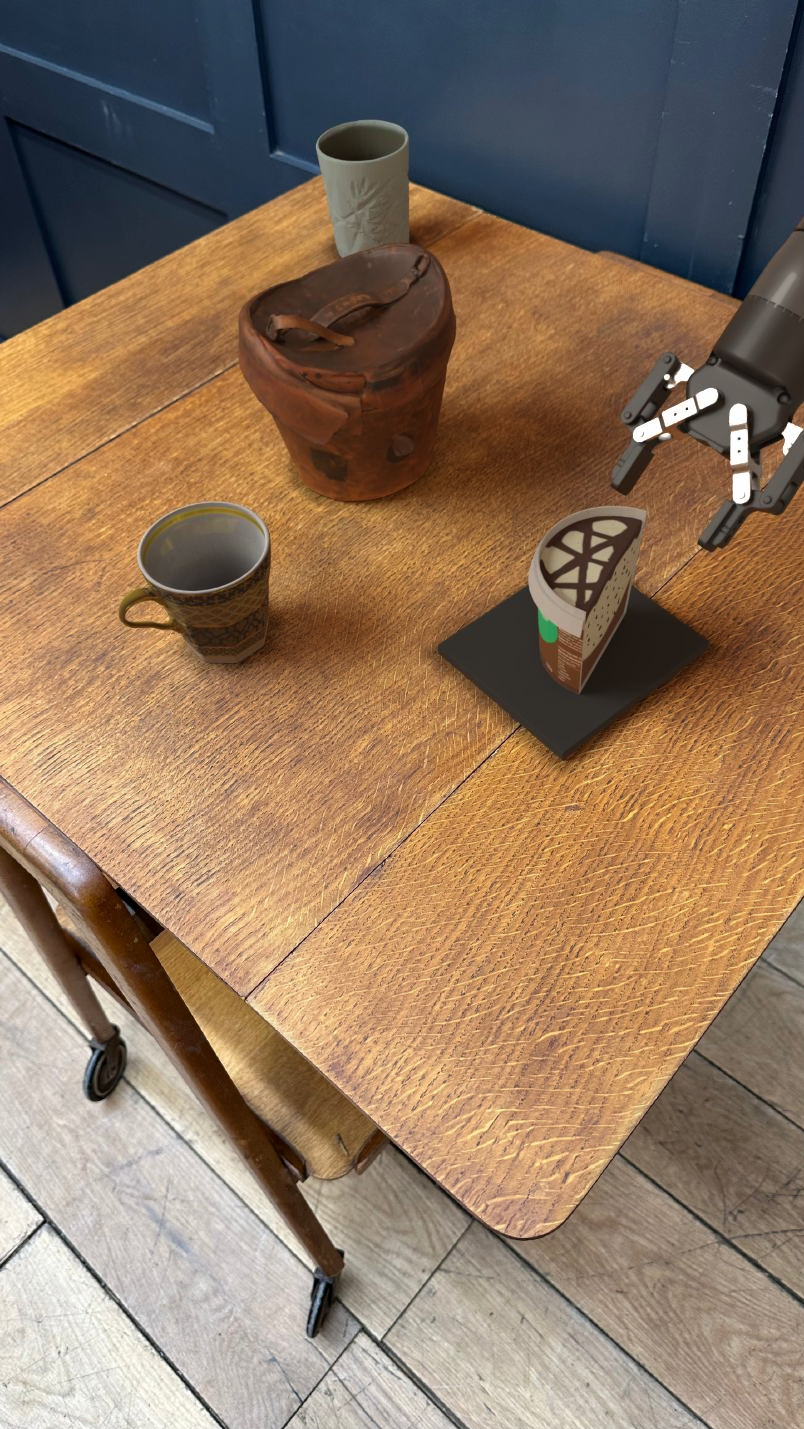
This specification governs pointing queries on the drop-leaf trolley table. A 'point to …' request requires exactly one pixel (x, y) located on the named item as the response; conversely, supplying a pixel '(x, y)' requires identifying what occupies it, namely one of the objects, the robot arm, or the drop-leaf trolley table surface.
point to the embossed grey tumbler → (366, 183)
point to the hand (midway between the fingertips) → (660, 519)
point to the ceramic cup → (208, 578)
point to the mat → (562, 720)
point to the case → (354, 367)
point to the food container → (583, 587)
